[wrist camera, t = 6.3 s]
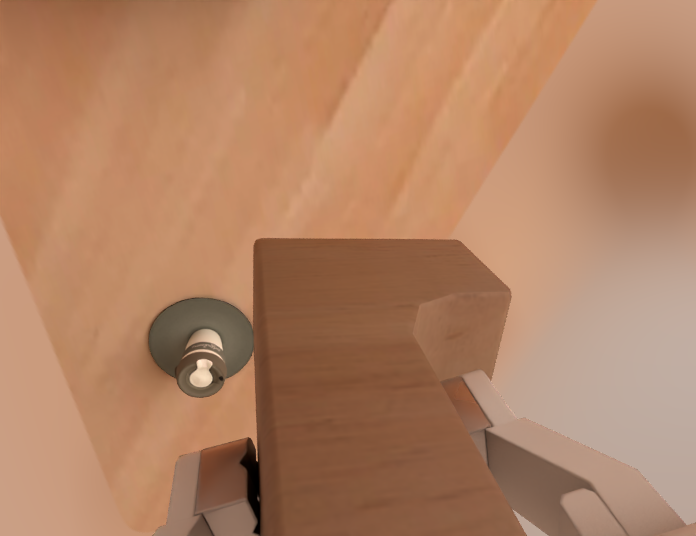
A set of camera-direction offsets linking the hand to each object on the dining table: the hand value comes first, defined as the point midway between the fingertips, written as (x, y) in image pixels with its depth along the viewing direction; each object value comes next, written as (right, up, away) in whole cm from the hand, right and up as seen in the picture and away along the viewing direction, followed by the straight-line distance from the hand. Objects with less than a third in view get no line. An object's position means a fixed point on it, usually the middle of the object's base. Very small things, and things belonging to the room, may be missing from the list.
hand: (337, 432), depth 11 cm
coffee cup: (-11, -2, +27) cm, 29 cm away
